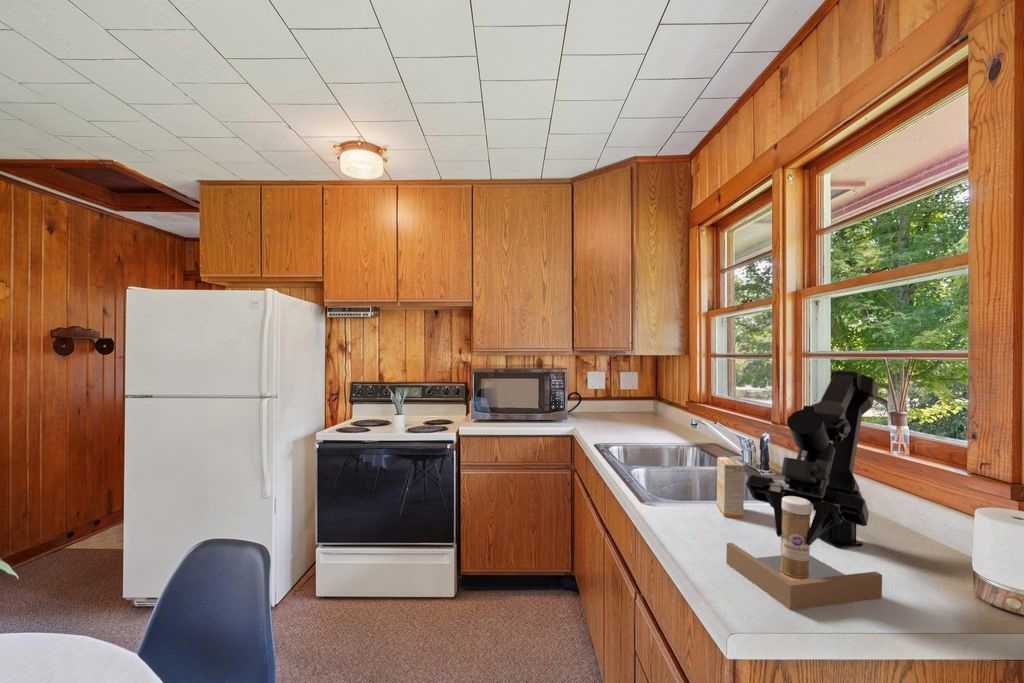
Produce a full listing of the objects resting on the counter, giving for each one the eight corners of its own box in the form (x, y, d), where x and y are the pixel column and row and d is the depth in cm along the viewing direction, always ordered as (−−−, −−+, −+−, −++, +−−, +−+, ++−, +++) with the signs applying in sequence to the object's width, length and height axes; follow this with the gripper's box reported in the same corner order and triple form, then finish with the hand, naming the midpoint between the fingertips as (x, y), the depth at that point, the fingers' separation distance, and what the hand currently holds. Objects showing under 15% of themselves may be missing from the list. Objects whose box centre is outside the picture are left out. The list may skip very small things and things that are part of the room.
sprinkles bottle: (785, 579, 84) (787, 503, 83) (775, 566, 88) (777, 494, 88) (814, 582, 83) (816, 505, 82) (802, 569, 87) (804, 496, 87)
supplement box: (744, 518, 117) (745, 465, 117) (723, 517, 118) (724, 464, 118) (735, 506, 125) (736, 457, 125) (716, 505, 126) (716, 455, 126)
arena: (805, 555, 98) (805, 535, 98) (881, 598, 82) (882, 574, 82) (726, 563, 94) (726, 543, 94) (790, 609, 78) (790, 585, 78)
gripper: (750, 432, 95) (725, 501, 87) (865, 449, 81) (848, 533, 74) (764, 465, 100) (742, 532, 93) (875, 486, 86) (859, 567, 79)
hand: (792, 539), depth 84 cm, fingers closed on sprinkles bottle, 4 cm apart
